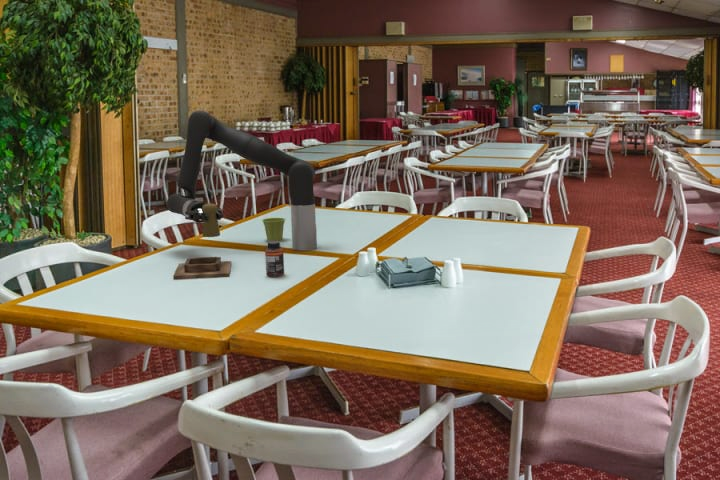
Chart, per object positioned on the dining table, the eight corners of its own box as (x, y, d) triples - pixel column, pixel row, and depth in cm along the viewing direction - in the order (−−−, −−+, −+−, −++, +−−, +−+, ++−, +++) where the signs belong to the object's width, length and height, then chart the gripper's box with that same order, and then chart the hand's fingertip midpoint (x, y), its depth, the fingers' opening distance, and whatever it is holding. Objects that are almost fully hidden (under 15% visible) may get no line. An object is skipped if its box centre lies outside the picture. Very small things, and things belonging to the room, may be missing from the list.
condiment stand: (231, 264, 264) (230, 254, 264) (229, 276, 247) (228, 265, 246) (179, 266, 262) (178, 256, 261) (173, 279, 245) (172, 268, 244)
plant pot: (258, 242, 302) (257, 220, 300) (270, 237, 310) (269, 217, 309) (279, 243, 298) (278, 222, 297) (290, 239, 307) (289, 218, 305)
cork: (216, 237, 256) (214, 205, 253) (199, 236, 257) (197, 205, 255) (223, 233, 261) (221, 202, 259) (206, 233, 263) (205, 202, 260)
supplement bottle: (274, 272, 252) (272, 239, 250) (288, 274, 249) (286, 241, 246) (262, 276, 247) (260, 242, 245) (276, 278, 244) (274, 244, 242)
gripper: (176, 202, 265) (192, 208, 251) (214, 198, 273) (232, 204, 258) (177, 223, 267) (193, 230, 253) (215, 218, 274) (233, 226, 260)
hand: (213, 217), depth 255 cm, fingers closed on cork, 4 cm apart
